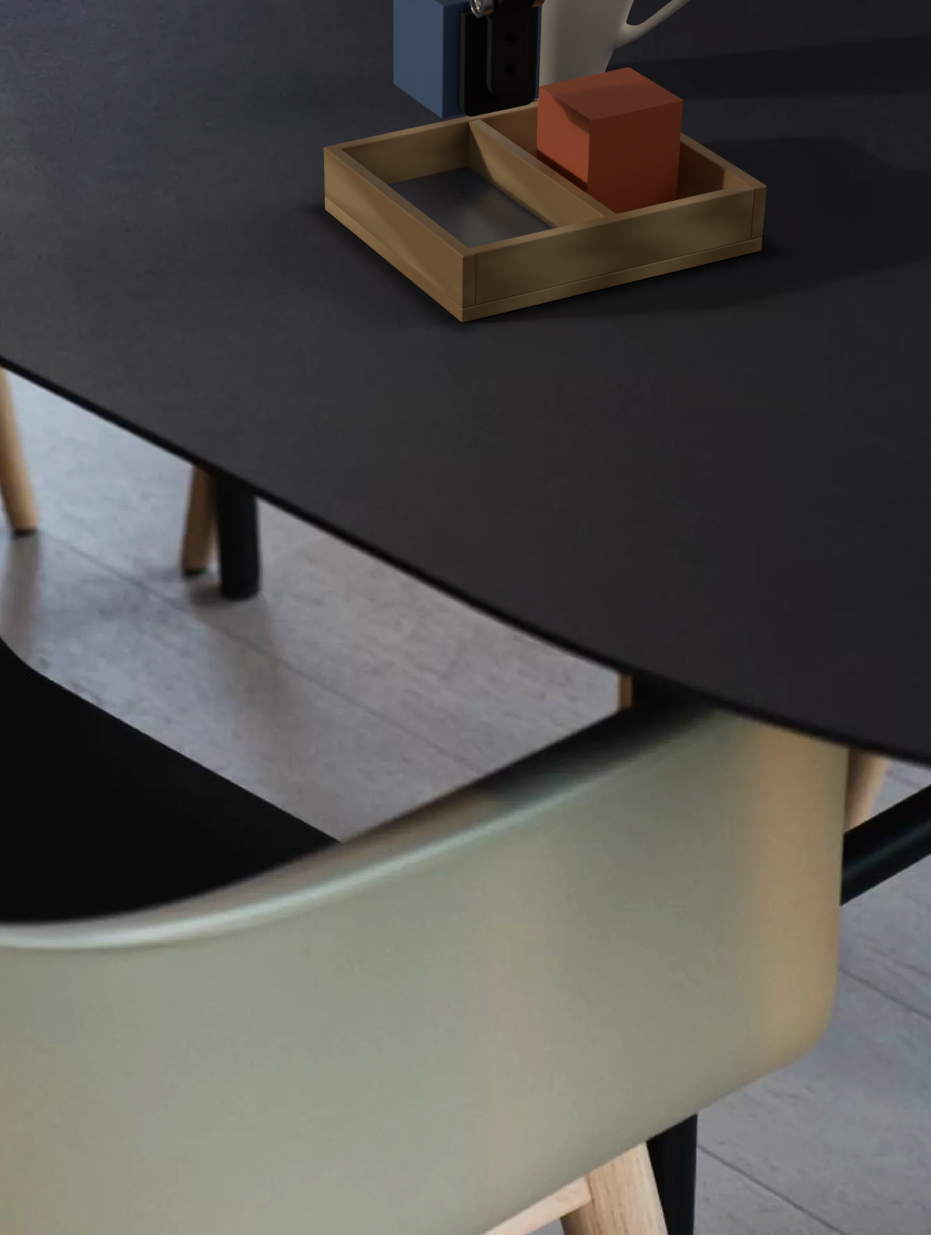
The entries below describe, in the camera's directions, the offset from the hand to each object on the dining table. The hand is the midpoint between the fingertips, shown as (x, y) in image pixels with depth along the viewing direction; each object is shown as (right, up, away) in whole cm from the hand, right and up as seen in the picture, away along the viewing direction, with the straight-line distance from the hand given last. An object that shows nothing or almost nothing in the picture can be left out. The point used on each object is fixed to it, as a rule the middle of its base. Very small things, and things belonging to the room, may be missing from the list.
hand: (466, 82), depth 101 cm
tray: (+3, -4, +5) cm, 8 cm away
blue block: (0, 0, 0) cm, 0 cm away
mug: (+7, +6, +17) cm, 20 cm away
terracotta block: (+6, -3, +6) cm, 9 cm away
